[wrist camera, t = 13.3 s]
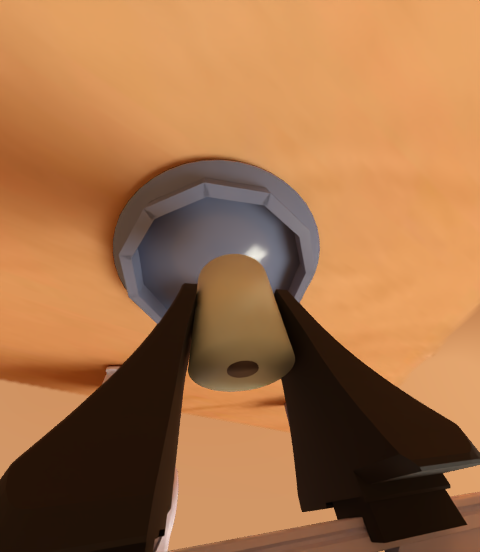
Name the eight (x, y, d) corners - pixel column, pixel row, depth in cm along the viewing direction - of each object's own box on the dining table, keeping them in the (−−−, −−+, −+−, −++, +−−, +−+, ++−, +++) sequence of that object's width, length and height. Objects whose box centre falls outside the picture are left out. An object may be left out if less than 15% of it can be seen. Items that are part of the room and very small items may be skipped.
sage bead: (205, 311, 12) (201, 398, 8) (190, 259, 10) (173, 349, 6) (267, 302, 12) (291, 384, 8) (266, 249, 10) (301, 330, 6)
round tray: (133, 328, 22) (127, 343, 20) (85, 132, 11) (63, 132, 9) (282, 331, 25) (287, 345, 23) (355, 183, 14) (373, 190, 13)
